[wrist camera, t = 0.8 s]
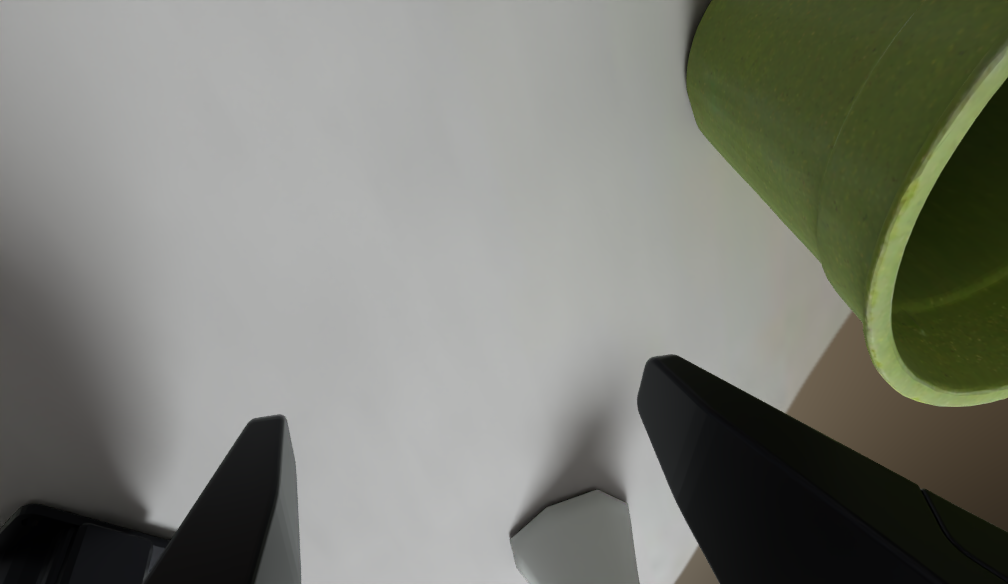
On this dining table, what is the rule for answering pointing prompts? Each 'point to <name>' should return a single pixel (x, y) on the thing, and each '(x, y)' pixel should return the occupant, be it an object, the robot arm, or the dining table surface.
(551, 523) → the flask
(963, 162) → the plant pot
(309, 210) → the dining table surface
